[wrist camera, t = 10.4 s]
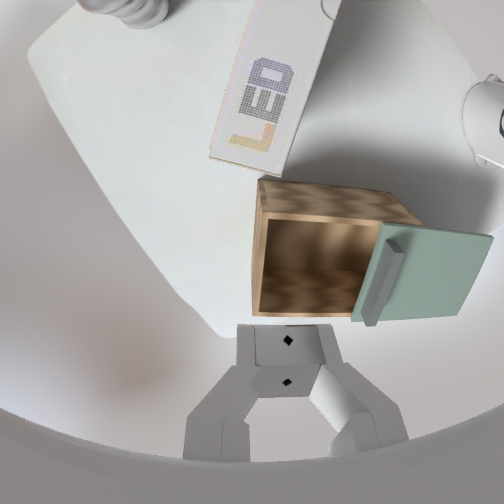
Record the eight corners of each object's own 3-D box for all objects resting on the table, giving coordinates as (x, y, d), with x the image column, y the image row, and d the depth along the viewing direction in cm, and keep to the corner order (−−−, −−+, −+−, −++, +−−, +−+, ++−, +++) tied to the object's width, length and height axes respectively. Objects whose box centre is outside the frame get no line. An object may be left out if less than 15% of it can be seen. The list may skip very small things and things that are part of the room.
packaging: (284, -49, 24) (310, -120, 7) (325, -36, 25) (375, -96, 8) (224, 125, 39) (206, 158, 22) (266, 137, 40) (282, 178, 23)
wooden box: (390, 192, 44) (425, 225, 34) (367, 271, 53) (390, 315, 43) (257, 179, 43) (261, 211, 33) (251, 267, 52) (252, 316, 41)
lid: (491, 235, 35) (504, 247, 31) (454, 312, 43) (464, 326, 40) (381, 222, 33) (394, 237, 30) (350, 318, 42) (357, 336, 39)
